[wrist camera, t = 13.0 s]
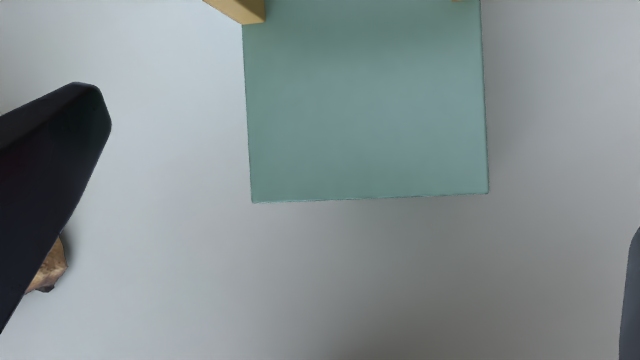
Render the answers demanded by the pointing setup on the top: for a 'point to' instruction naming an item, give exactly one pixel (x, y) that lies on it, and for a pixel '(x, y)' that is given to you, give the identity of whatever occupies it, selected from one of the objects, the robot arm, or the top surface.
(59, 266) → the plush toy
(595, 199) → the top surface
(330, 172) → the tote bag
